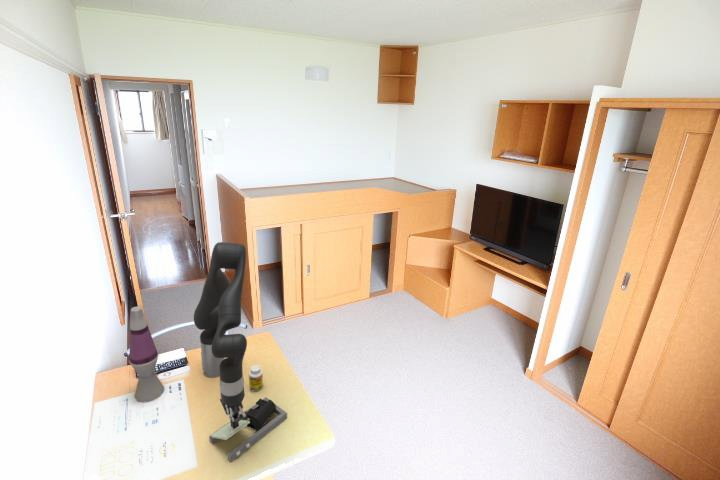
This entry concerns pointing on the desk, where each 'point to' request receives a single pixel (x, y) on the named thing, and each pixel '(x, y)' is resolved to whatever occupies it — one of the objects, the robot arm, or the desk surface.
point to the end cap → (260, 414)
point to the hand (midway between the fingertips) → (234, 426)
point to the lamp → (143, 357)
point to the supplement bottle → (255, 378)
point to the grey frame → (259, 434)
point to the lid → (228, 430)
